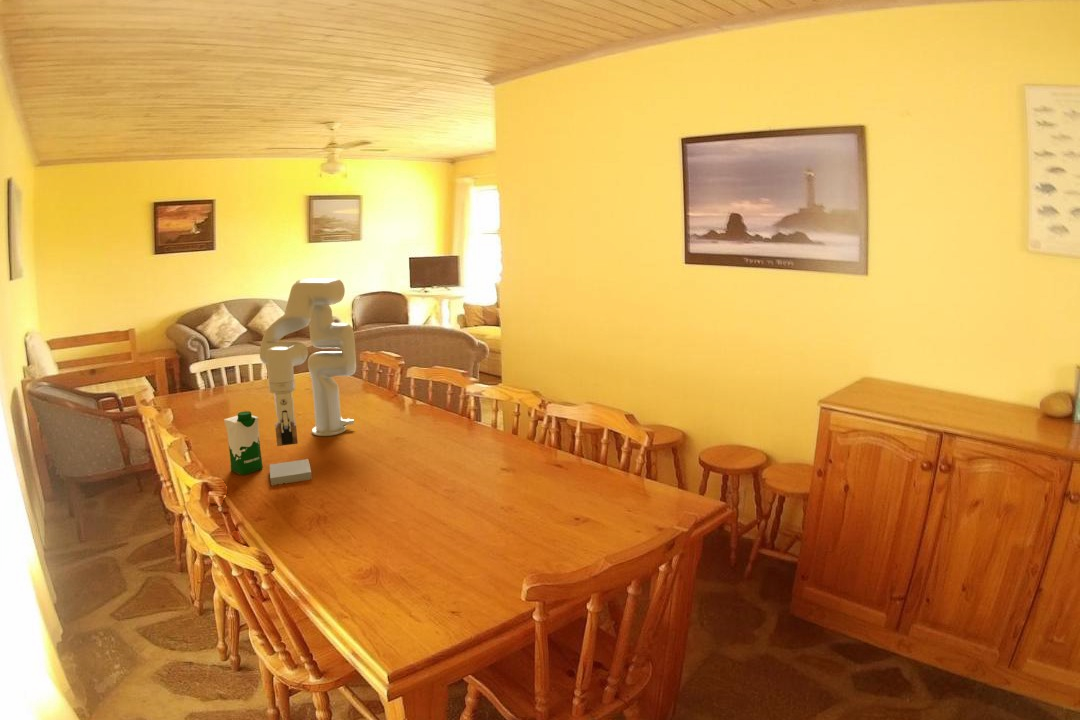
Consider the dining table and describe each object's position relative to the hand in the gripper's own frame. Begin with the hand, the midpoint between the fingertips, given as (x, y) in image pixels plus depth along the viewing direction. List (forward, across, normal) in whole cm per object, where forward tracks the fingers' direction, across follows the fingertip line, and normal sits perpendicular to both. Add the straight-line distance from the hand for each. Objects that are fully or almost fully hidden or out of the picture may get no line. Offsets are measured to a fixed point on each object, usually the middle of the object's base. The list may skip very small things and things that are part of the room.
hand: (287, 440), depth 202 cm
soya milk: (+12, +11, +13) cm, 21 cm away
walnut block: (+1, 0, 0) cm, 1 cm away
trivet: (+12, 0, 0) cm, 12 cm away
